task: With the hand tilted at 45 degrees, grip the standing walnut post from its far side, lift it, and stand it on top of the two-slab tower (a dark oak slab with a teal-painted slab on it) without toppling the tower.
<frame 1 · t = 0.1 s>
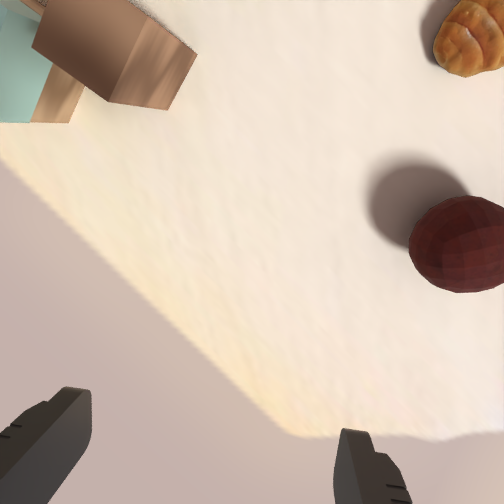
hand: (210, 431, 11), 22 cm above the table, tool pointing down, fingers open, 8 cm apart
post: (156, 64, 28), on the table
tower base: (49, 61, 29), on the table, touching tower top
tower top: (2, 49, 24), point 5 cm above the table, touching tower base
potato: (443, 231, 30), on the table
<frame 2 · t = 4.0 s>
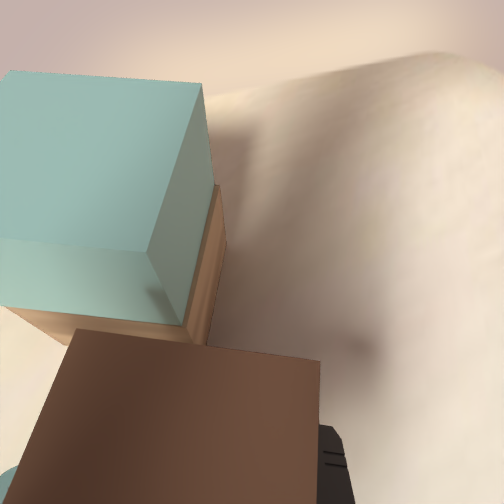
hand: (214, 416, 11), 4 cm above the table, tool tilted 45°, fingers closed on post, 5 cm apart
post: (215, 478, 14), on the table, touching gripper
tower base: (152, 290, 19), on the table, touching tower top
tower top: (118, 238, 14), point 5 cm above the table, touching tower base
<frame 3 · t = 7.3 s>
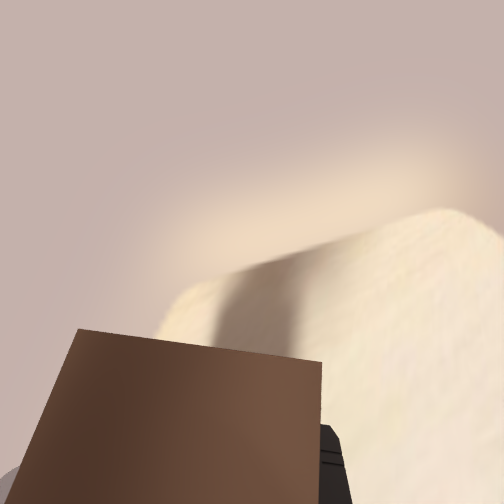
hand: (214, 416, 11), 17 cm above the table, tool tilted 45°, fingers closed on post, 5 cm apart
post: (215, 479, 14), point 13 cm above the table, touching gripper
when the fingers open (16 cm above the table, at t = 8.0 s): post drops 1 cm, point 10 cm above the table.
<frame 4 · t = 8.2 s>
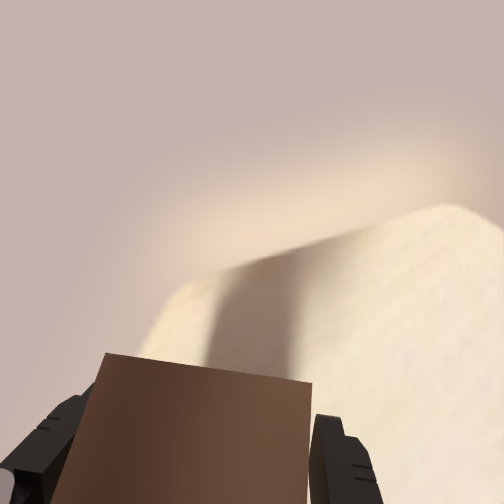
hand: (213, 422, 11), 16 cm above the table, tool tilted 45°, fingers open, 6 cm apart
post: (218, 479, 15), point 10 cm above the table
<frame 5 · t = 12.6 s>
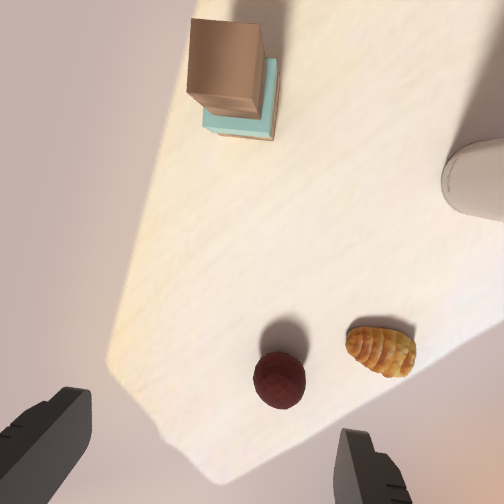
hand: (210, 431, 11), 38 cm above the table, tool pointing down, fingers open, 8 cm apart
pastry: (379, 346, 50), on the table
post: (239, 91, 35), point 10 cm above the table, touching tower top
tower base: (249, 110, 45), on the table, touching tower top
tower top: (243, 103, 40), point 5 cm above the table, touching post, tower base
potato: (280, 365, 52), on the table
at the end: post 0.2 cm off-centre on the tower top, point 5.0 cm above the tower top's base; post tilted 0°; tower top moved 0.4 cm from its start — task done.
